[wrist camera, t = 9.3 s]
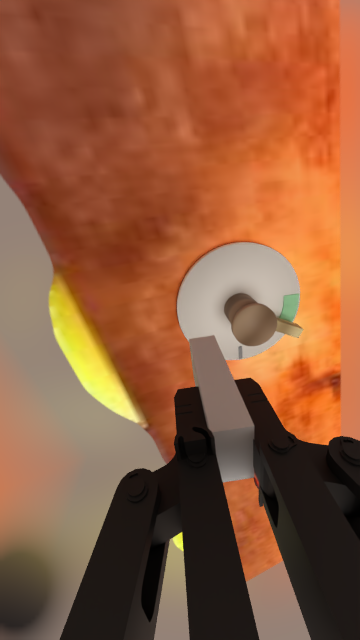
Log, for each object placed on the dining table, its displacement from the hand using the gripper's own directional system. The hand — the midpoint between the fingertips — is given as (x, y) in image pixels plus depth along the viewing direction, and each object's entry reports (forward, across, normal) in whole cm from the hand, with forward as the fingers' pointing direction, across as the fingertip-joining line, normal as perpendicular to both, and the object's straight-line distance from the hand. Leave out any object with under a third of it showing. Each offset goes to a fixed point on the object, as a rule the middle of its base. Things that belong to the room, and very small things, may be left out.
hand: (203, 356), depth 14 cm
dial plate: (+24, +9, -7) cm, 27 cm away
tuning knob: (+23, +12, -8) cm, 27 cm away
